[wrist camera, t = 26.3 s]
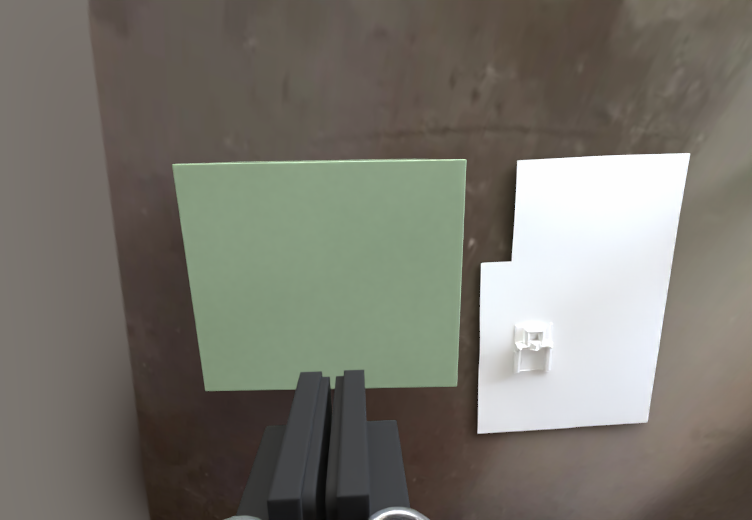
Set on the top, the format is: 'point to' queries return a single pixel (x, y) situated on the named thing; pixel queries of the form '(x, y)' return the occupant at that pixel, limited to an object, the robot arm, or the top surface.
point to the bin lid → (324, 270)
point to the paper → (579, 293)
